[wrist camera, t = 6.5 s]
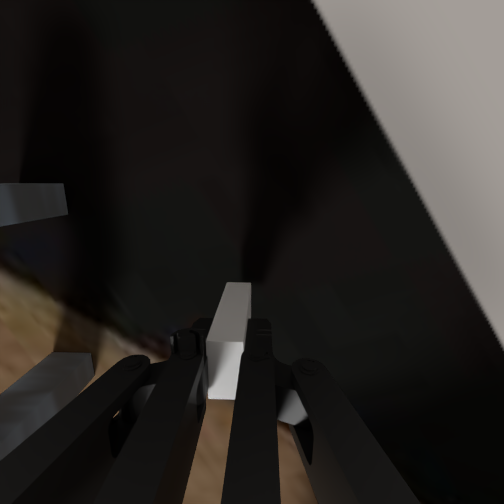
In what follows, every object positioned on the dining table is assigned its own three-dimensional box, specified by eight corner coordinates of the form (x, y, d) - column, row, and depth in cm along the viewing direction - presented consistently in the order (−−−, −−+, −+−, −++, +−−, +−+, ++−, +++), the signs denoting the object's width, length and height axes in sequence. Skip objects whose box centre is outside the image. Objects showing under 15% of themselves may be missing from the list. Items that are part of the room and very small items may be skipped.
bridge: (63, 183, 18) (-133, 186, 9) (94, 375, 22) (-24, 512, 13) (18, 183, 18) (-218, 186, 9) (56, 374, 22) (-87, 509, 13)
